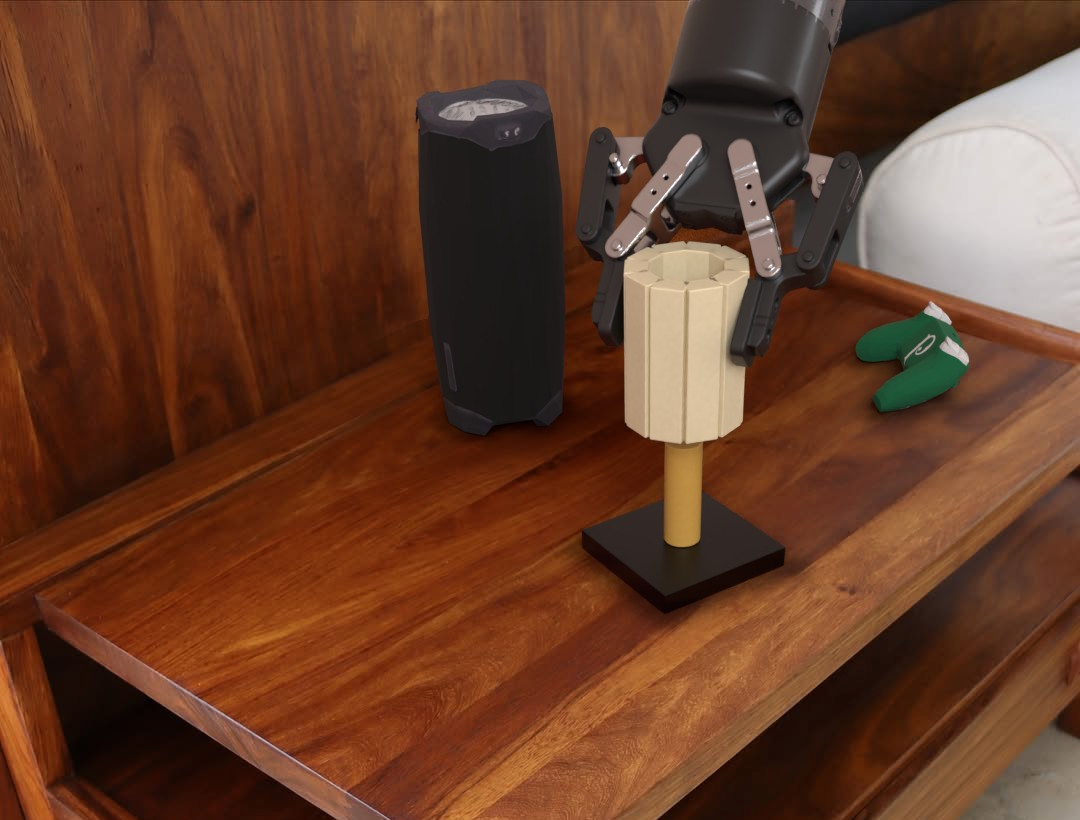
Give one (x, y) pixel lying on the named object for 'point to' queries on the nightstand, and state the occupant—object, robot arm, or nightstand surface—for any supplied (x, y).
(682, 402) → the cream hollow cylinder
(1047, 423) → the nightstand surface
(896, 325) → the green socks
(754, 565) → the stand
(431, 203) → the portable speaker
